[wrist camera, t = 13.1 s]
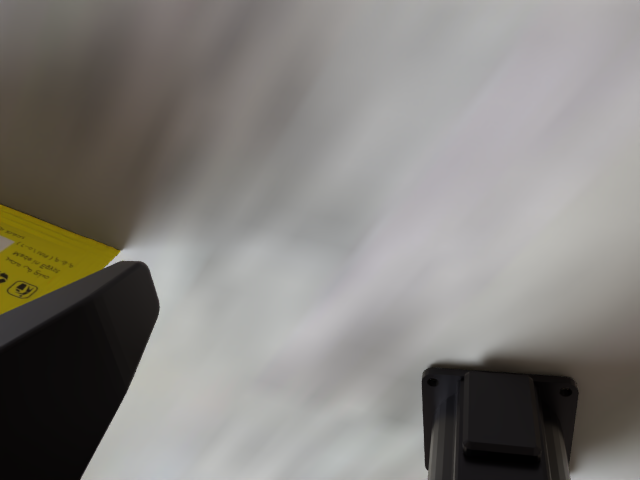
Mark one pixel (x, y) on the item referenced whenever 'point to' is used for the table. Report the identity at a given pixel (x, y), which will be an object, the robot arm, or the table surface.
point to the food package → (42, 258)
